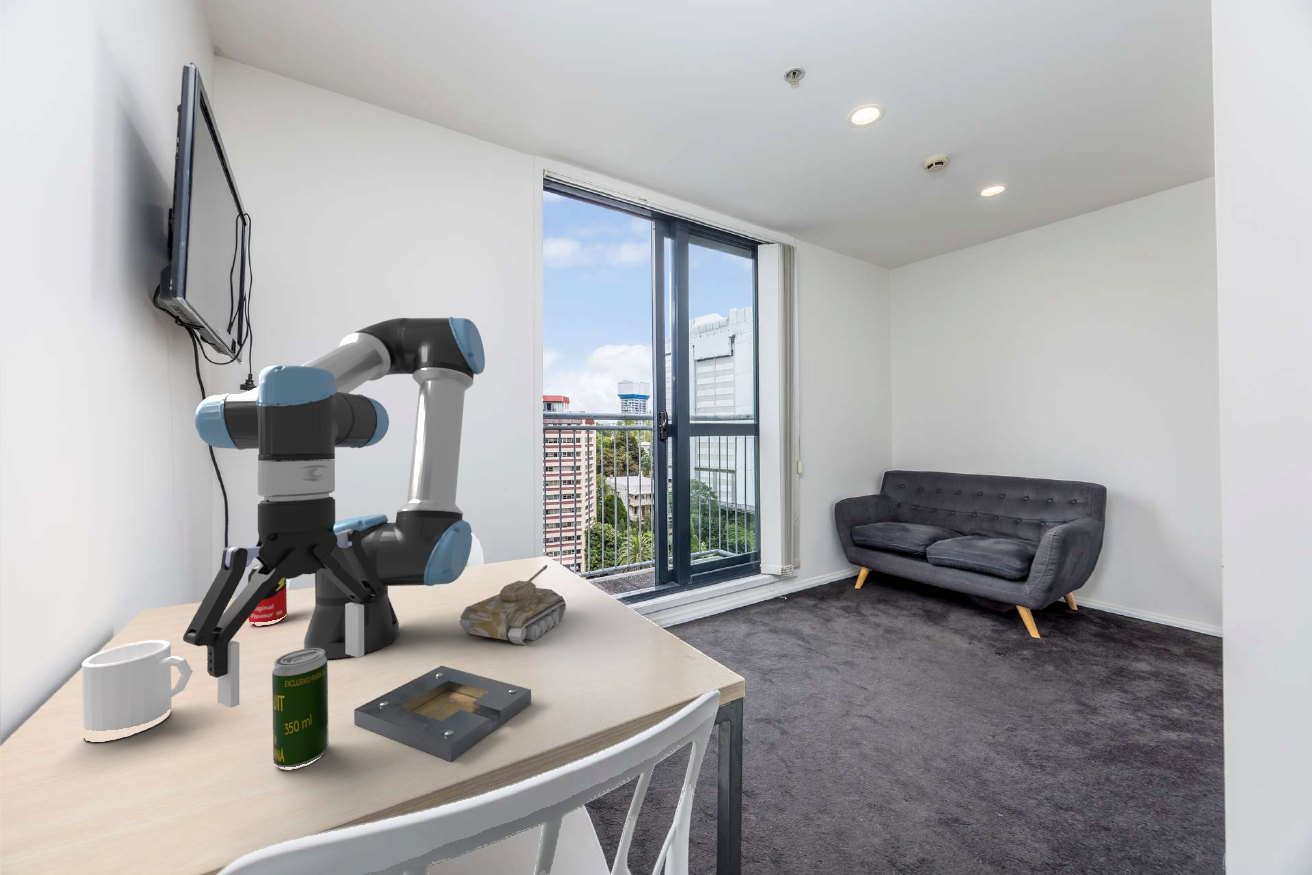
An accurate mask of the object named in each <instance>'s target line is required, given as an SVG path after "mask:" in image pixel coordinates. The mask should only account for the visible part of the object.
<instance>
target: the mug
mask: <svg viewBox="0 0 1312 875" xmlns="http://www.w3.org/2000/svg"><path fill="white" fill-rule="evenodd" d="M171 646H172V644H171V643H170V642H169V641H167V640H162V639H158V640H157V639H153V640H151V639H150V640H145V641H136V642H132V643H125V644H123V645H119V646H118V645H117V646H115V647H111V648H108V649H104V650H102V651H100V652H97V653H94V654H92V655H90V656H88V657H87V658H86V659H84V660H83V662H82V663H81V689H82V690H81V692H82V694H81V699H82V706H81V708H82V729H83V728H85V730H92V731H95V730H96V731H106V730H119V729H123V728H130V727H133V726H139V725H141V724H145V723H148V722H150V721H153V720H155V719H157V718H158V717H161V716H162V715H164V714H165V713H167V711H168V710H169V709H170V708H171V709H172V697H175V696H176V695H178V694H179V693H181V692H183V691H184V690H185V688H186V686H187V684H188V682H189V680H190V678H191V676H192V674H193V673H194V671H193V669H192V668H191V666H190V664H189V662H188V661H187V660H186V658H183V657H180V656H177V655H172V653H171V652H172V647H171ZM172 666H173V667H176V668H177V670H178V672H179V673H180V676H179V679H178V681H177V682H176V685H175V687H174V688H172Z"/></svg>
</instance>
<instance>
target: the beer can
mask: <svg viewBox="0 0 1312 875" xmlns="http://www.w3.org/2000/svg"><path fill="white" fill-rule="evenodd" d="M328 665H329V664H328V659H327V658H326V656H325V651H324V650H323V649H320V648H309V649H304V648H303V649H298V650H294V651H291V652H288V653H286V654H283V655H281V656H280V657H278V658H276V659H275V661H274V666H273V668H272V671H271V676H272V677H271V679H272V680H271V682H272V683H271V685H272V686H271V689H272V690H271V692H272V698H271V699H272V741H273V742H272V753H273V754H272V757H273V758H272V759H273V764H274V765H275V764H276V765H277V766H278V767H284V768H285V767H296V766H300V765H302V764H307V763H309V762H311V761H313V760H315V759H317V758H319V757H320V756H322V754H324V755H325V753H326V751H327V748H328V746H329V740H330V739H329V738H330V736H329V688H328V687H329V684H328V682H329V681H328V678H329V677H328V673H329V672H328V671H329V670H328ZM324 752H325V753H324ZM322 757H323V756H322ZM276 765H275V766H276Z"/></svg>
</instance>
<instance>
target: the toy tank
mask: <svg viewBox="0 0 1312 875" xmlns="http://www.w3.org/2000/svg"><path fill="white" fill-rule="evenodd" d="M547 568H548V565H547V564H545V565H543V567H542V568H541V569H540V570H538V571H537V572H536V573H535V574H534V575H533V576H532V577H530V578H529V579H528V580H526V581H524V580H517V581H514V582H511V583H510V584H506V585H504V586H503V587H502V588H501V590H500V592H499V594H498V593H497V594H496V595H493V596H491V597H488V598H485V599H484V600H480V601H478V602H476V603H473V604H470V605H468V606H466V607H465V609H464V610H463V612H462V613H461V615H460V620H459V624H460V626H461V628H462V629H463V631H464V632H466V633H467V634H469V635H474V636H480V637H486V638H492V639H493V638H494V639H498V640H499V639H500V640H504V641H510V642H511V643H512V644H513V645H520V646H527V644H526V643H525V642H524V640H526V641H528V640H529V641H535V640H537V639H538V638H539V637H542V636H543V635H544V634H545V633H546V632H549V631H551V630H552V628H553V627H554V628H555V627H557V626H558V624H560V623H562V620H563V618H564V615H565V612H566V608H567V604H566V600H565V599H564V597H563V596H562V595H560V594H558V593H557V592H556V591H554V590H553V589H550V588H540V587H537V586H536V584H535V583H533V582H532V581H533V580H535V579H536V578H537V577H538V576H539V575H540V574H542V572H544V571H546V570H547Z"/></svg>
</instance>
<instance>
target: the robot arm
mask: <svg viewBox="0 0 1312 875" xmlns="http://www.w3.org/2000/svg"><path fill="white" fill-rule="evenodd" d="M485 356H486V355H485V349H484V344H483V340H482V337H481V335H480V332H479V329H478V327H477V325H476V324H475V323H474V322H473V321H472V320H471V319H469V318H464V317H463V318H460V317H459V318H458V317H452V316H448V317H415V318H414V317H410V318H409V317H398V318H392V319H387V320H383V321H380V322H377V323H373V324H371V325H368V326H366V327H364V328H362V329H359V330H356V331H355V332H353V333H350V334H349V335H346V337H344V338H343V339H342V340H341V342H340V344H339V346H337V347H335V348H333V349H331V350H329V351H327V352H325V353H323V354H321V355H319V356H317V357H315V358H313V359H311V360H309V361H307V362H305V363H303V364H301V365H287V364H285V365H270V366H267V367H265V368H263V369H262V370H261V371H260V373H259V377H258V386H257V387H255V388H253V389H251V390H248V391H247V392H246V391H245V392H243V393H239V394H236V393H231V392H230V393H225V394H215V395H210V396H208V397H206V398H205V399H203V400H202V401H201V402H200V403H199V405H198V406H197V408H196V410H195V414H194V427H195V428H196V430H197V433H198V436H199V437H200V438H201V441H203V442H205V443H206V444H207V445H209V446H210V447H213V448H218V449H234V450H239V451H242V450H247V449H250V450H254V449H258V454H257V495H258V496H260V497H262V498H263V500H261V501H260V502H259V503H258V504H257V533H258V540H257V543H256V545H255V546H250V547H249V546H248V547H240V546H226V547H225V548H224V549H223V551H222V557H221V564H220V568H219V571H218V573H217V575H216V576H215V578H214V579H213V581H212V583H211V585H210V587H209V589H208V591H207V592H206V594H205V596H204V598H203V599H202V601H201V603H200V605H199V607H198V609H197V611H196V612H195V615H194V616H193V618H192V620H191V622H190V623H189V624H188V627H187V629H186V631H185V633H184V635H183V636H182V640H183V642H185V643H187V644H189V645H190V644H191V645H193V646H196V647H203V646H204V647H205V646H206V650H207V652H206V654H207V655H206V656H207V658H206V660H207V663H206V664H207V666H206V667H207V670H206V672H207V674H209V676H210V677H213V678H217V703H218V704H220V705H224V706H226V707H228V708H235V707H236V706H238V705H240V642H239V641H237V640H232V639H233V638H234V637H235V635H236V634H237V633H238V632H239V630H240V629H241V628H242V627H243V625H244V624H245V622H246V621H247V620H249V616H250V615H251V614H252V612H253V611H254V610H255V609H256V607H257V606H258V605H259V604H260V602H261V601H262V600H263V598H264V597H265V596H266V595H267V593H268V592H269V591H270V589H271V588H272V587H274V586H276V585H277V584H278V583H279V582H280V580H281V579H282V578H285V579H286V580H291V579H296V578H298V577H300V576H303V575H313V574H314V594H315V595H314V598H315V602H314V604H315V606H314V610H313V613H312V616H311V619H310V622H309V624H308V628H307V630H306V634H305V636H304V640H303V649H309V648H320V649H323V650H324V651H325V656H326V658H327V660H332V658H334V659H335V658H336V659H343V658H349V657H354V658H355V657H356V658H360V657H361V658H362V657H363V656H365V654H366V653H371V652H373V651H375V650H378V649H380V648H383V647H385V646H387V645H388V644H389V645H390V644H391V643H392V642H394V641H395V640H397V638H398V636H399V633H400V632H399V631H400V628H399V619H398V616H397V615H396V612H395V610H394V607H393V605H392V602H391V599H390V597H389V587H399V586H401V587H403V586H404V587H405V586H408V587H409V586H413V587H414V586H426V587H433V586H437V585H448V584H451V583H453V582H455V581H457V580H458V579H459V578H460V576H462V573H463V572H464V570H465V569H466V566H467V564H468V562H469V559H470V554H471V552H472V551H471V550H472V543H473V535H472V532H473V531H472V530H473V529H472V526H471V524H469V522H468V521H465V520H464V519H463V516H464V515H463V514H464V513H463V511H462V510H461V509H460V508H459V507H458V506H457V504H456V503H457V502H456V500H457V499H456V498H457V489H458V476H459V464H460V452H461V442H462V441H461V438H462V428H463V427H462V426H463V417H464V405H465V393H466V391H467V390H469V389H470V388H471V387H472V386H473V384H474V376H475V375H476V376H477V375H478V376H479V375H480V374H482V373H483V372H484V369H485V365H486V357H485ZM391 375H412V379H413V380H414V382H415V383H417V384H418V385H419V386H418V387H419V389H418V398H417V407H416V417H415V424H414V426H415V427H414V435H413V442H412V443H413V444H412V454H411V463H410V469H409V470H410V472H409V479H408V480H409V482H408V490H407V500H406V503H405V504H404V505H403V506H402V507H400V508H399V509H397V511H396V516H395V522H389V518H388V517H387V515H386V514H381V513H379V514H372V515H371V514H370V515H365V516H358V517H353V518H347V519H343V520H338V521H337V520H336V499H335V498H334V497H333V496H330V494H331V493H333V492H335V490H336V489H335V488H336V485H335V484H336V475H335V474H336V466H335V465H336V463H335V462H336V453H335V452H336V448H351V449H355V448H357V449H361V448H364V447H365V448H366V447H371V446H374V445H376V444H377V443H379V442H381V441H382V440H383V439H384V437H385V436H386V434H387V433H388V430H389V427H390V426H389V425H390V418H389V414H388V411H387V409H386V408H385V407H384V406H383V404H382V403H381V402H379V401H378V400H376V399H374V398H371V397H368V396H365V395H363V394H362V393H361V394H359V393H357V394H355V393H354V394H353V393H351V392H353V391H354V390H355V389H356V388H359V387H360V386H361V385H363V384H365V383H366V382H368V381H377V380H380V379H382V378H383V377H385V376H391ZM254 559H256V560H257V561H258V562H259V563H260V564H261V565H260V567H259V568H258V569H257V570H256V571H255V573H254V574H253V575H252V577H251V581H250V582H249V583H248V582H247V585H246V586H245V587H244V588H243V589H242V591H241V592H240V593H239V594H238V595H237V596H236V598H235V599H234V600H233V602H232V603H231V604H230V605H229V603H230V601H231V599H232V597H233V595H234V594H235V592H236V589H237V588H238V586H239V584H240V582H241V580H242V578H243V576H244V574H245V571H246V568H248V567H249V566H250V565H251V564H252V563H253V562H252V561H253V560H254ZM228 605H229V607H228ZM329 658H330V659H329ZM334 659H333V660H334Z"/></svg>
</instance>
